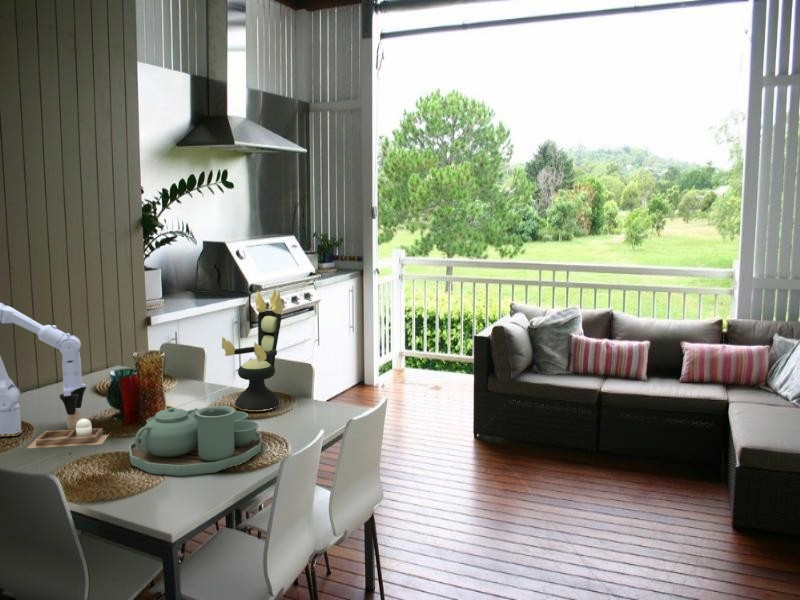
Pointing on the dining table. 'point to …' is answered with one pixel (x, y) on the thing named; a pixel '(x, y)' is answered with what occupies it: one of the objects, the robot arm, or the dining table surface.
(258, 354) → the toy throne chair
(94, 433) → the wooden divided tray
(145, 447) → the tea set
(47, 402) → the dining table surface
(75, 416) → the brown egg
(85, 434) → the cream egg
